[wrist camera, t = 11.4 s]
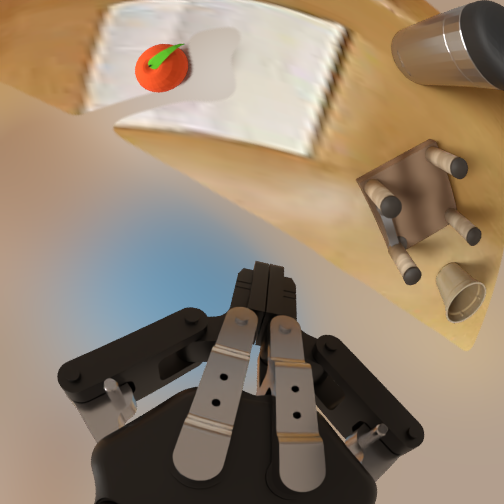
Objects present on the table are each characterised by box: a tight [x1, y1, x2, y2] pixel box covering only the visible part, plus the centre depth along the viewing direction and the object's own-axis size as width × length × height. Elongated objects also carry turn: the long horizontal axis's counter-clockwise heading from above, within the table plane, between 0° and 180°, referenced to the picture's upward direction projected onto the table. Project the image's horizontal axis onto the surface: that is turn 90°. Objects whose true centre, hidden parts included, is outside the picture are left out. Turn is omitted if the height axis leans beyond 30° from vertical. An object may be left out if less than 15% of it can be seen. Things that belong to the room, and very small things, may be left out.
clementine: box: [135, 44, 188, 92], centre depth 27 cm, size 8×7×7 cm
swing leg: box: [376, 206, 421, 285], centre depth 34 cm, size 10×3×8 cm, turn 30°
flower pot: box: [436, 263, 486, 323], centre depth 40 cm, size 9×9×9 cm
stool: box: [356, 139, 481, 249], centre depth 33 cm, size 14×14×10 cm
